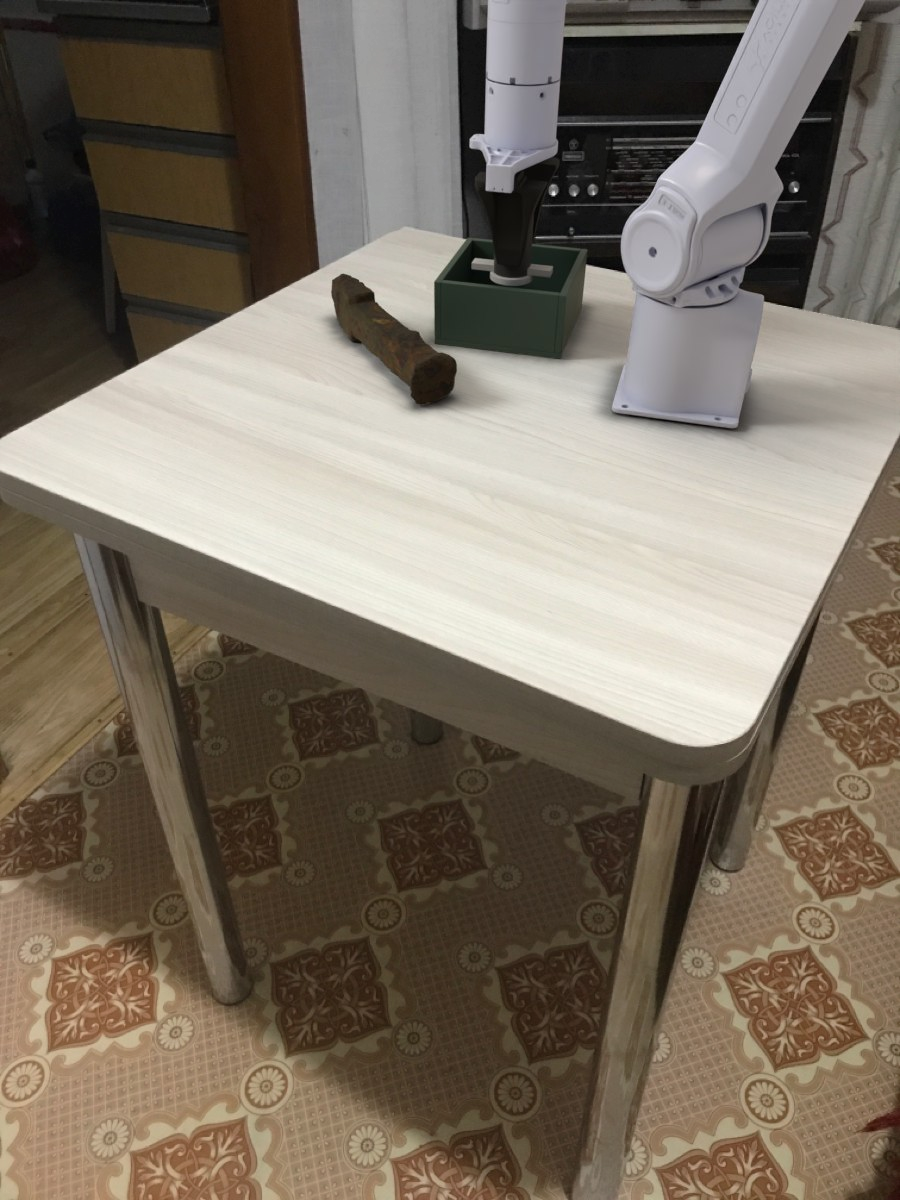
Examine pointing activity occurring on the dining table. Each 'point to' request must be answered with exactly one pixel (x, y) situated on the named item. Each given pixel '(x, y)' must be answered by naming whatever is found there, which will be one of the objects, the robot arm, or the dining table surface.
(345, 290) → the hand tool
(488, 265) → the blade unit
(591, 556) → the dining table surface
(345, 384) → the dining table surface
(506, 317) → the green storage bin
